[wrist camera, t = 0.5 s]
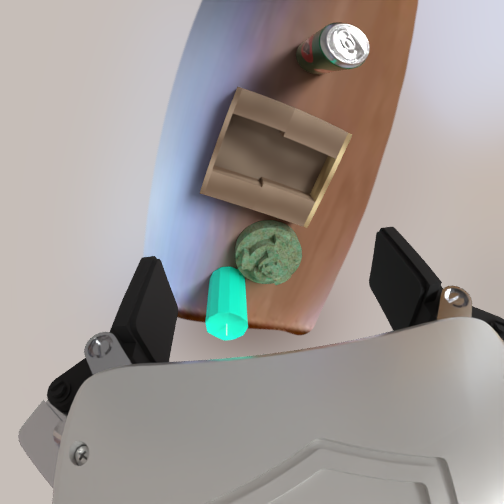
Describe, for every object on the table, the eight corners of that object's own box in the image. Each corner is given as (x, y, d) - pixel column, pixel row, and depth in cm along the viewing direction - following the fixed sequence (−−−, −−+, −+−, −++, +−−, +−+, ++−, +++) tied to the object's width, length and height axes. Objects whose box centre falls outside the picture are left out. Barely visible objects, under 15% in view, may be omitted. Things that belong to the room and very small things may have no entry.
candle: (224, 260, 44) (221, 313, 34) (252, 278, 46) (257, 332, 36) (202, 283, 46) (196, 337, 36) (230, 299, 49) (230, 353, 38)
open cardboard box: (237, 87, 30) (237, 86, 27) (341, 130, 34) (352, 134, 30) (203, 183, 37) (199, 193, 34) (300, 215, 41) (307, 227, 37)
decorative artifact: (240, 215, 40) (231, 270, 45) (241, 239, 34) (231, 299, 40) (305, 224, 42) (290, 276, 47) (317, 248, 36) (297, 304, 41)
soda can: (308, 80, 30) (341, 76, 20) (287, 49, 28) (311, 30, 17) (339, 65, 29) (382, 57, 19) (319, 35, 26) (355, 14, 16)
